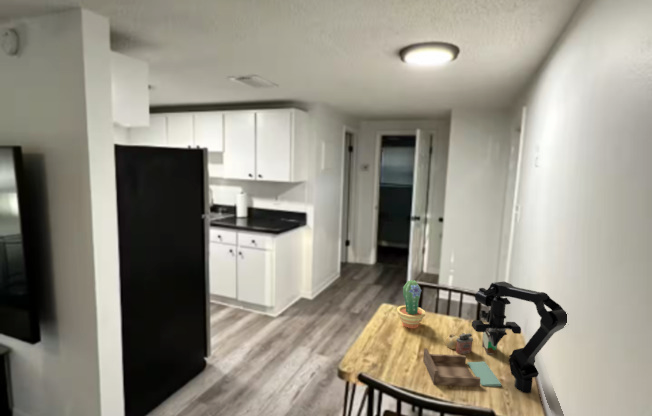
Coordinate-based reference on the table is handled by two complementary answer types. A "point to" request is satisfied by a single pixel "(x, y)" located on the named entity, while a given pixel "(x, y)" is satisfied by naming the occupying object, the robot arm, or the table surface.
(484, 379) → the tailgate
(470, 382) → the truck bed
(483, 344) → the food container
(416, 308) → the potted cactus
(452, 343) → the onion
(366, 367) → the table surface
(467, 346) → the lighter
